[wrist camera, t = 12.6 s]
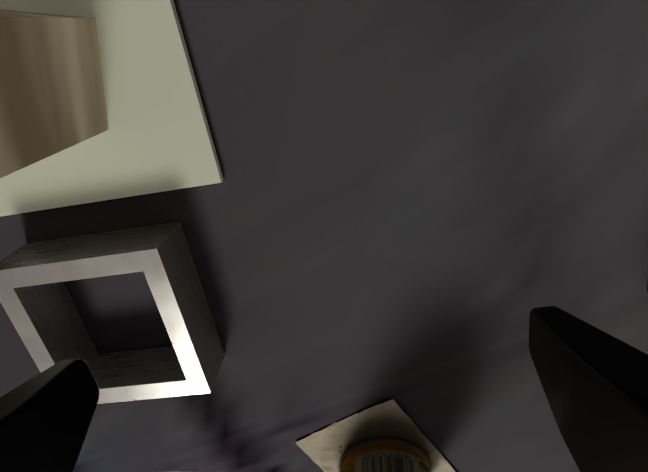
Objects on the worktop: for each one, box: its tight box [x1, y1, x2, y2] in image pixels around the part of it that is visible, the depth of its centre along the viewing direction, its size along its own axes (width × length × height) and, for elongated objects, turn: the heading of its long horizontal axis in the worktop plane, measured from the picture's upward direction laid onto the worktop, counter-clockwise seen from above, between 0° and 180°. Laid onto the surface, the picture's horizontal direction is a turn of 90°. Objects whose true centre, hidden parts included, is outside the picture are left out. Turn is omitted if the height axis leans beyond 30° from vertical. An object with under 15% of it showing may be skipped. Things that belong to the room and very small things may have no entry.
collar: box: [0, 221, 225, 404], centre depth 23 cm, size 8×8×3 cm
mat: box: [0, 0, 224, 216], centre depth 19 cm, size 12×12×1 cm
